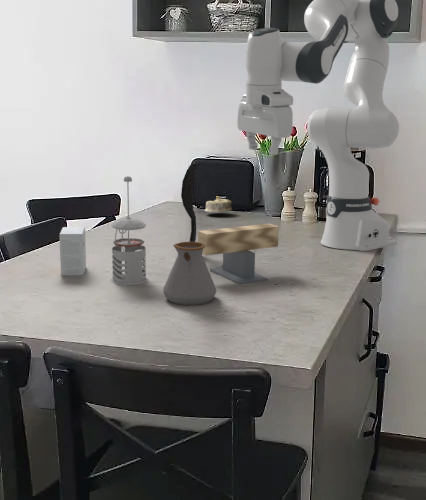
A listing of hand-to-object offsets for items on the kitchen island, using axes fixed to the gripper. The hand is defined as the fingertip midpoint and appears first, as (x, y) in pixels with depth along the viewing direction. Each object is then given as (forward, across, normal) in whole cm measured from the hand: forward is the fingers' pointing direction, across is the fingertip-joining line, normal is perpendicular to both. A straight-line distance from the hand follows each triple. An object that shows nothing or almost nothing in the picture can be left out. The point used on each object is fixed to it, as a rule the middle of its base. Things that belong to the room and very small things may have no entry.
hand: (263, 152), depth 190 cm
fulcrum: (+28, +11, -14) cm, 33 cm away
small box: (+27, -12, -48) cm, 56 cm away
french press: (+27, +2, -39) cm, 47 cm away
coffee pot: (+27, +28, -36) cm, 53 cm away
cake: (+32, -66, +24) cm, 78 cm away
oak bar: (+21, +11, -14) cm, 27 cm away
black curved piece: (+29, -14, -14) cm, 35 cm away
